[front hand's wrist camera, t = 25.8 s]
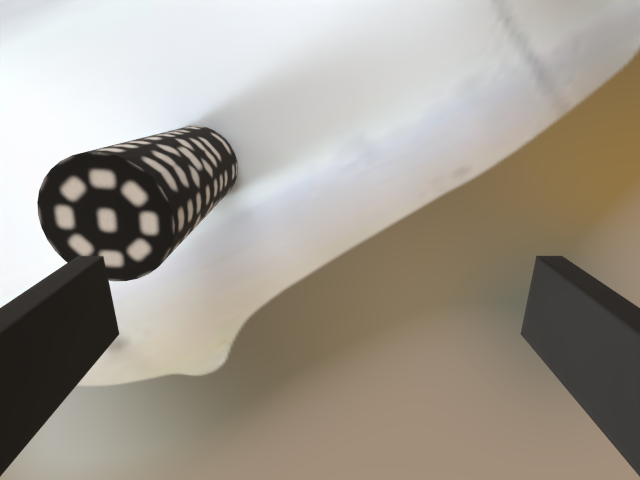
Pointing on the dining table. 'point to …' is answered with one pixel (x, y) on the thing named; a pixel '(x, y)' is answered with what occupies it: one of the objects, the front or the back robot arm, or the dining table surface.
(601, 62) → the dining table surface
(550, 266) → the front robot arm
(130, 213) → the polka dot cylinder
